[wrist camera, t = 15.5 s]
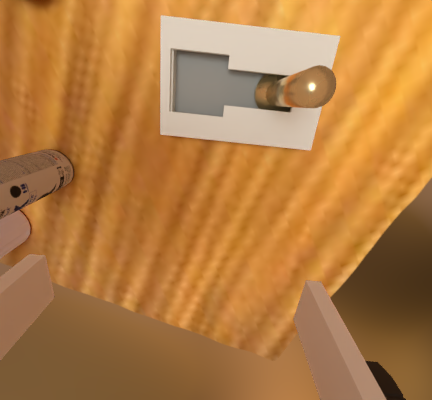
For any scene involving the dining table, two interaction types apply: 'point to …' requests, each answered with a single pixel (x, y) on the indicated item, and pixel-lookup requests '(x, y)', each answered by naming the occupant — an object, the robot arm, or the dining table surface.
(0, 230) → the soap bottle
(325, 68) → the peg
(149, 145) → the dining table surface
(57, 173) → the spray can
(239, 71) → the board
